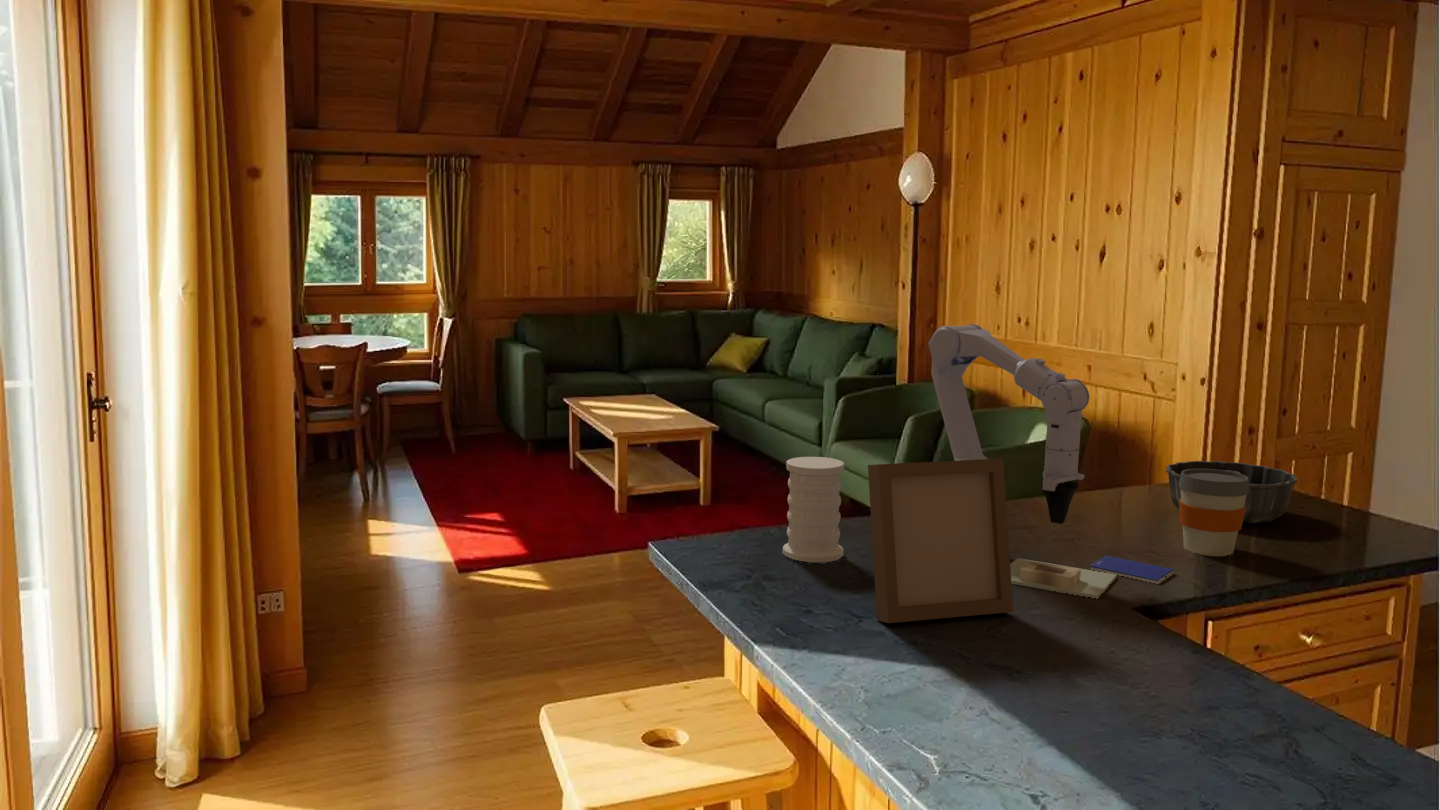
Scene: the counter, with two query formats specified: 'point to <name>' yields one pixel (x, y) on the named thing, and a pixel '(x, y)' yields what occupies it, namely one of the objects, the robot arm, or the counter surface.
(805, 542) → the decorative container
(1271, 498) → the bundt pan
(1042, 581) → the oak tile
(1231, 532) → the reusable coffee cup
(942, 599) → the photo frame
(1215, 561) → the counter surface
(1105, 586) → the mat
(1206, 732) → the counter surface
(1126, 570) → the hard drive
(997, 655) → the counter surface
